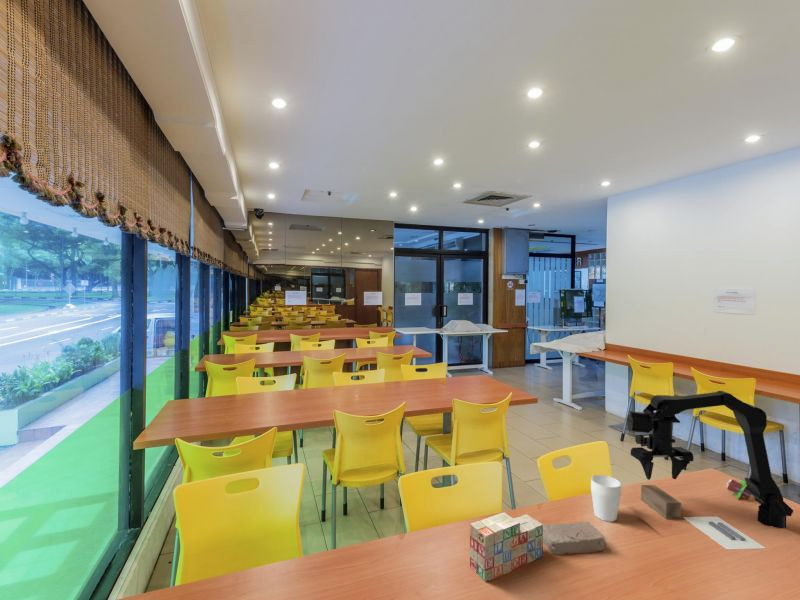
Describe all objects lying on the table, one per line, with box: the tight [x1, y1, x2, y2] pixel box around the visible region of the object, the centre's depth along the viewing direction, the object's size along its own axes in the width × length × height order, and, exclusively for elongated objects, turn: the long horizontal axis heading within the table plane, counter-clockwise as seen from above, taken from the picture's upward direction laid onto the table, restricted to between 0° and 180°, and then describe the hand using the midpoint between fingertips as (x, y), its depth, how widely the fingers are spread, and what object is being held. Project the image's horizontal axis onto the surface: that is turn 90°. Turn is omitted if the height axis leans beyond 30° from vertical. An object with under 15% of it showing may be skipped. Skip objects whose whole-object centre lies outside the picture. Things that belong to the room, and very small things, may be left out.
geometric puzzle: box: [726, 478, 752, 501], centre depth 142 cm, size 7×7×8 cm
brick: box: [542, 521, 606, 555], centre depth 114 cm, size 17×8×5 cm, turn 97°
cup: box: [590, 474, 622, 523], centre depth 129 cm, size 9×9×12 cm
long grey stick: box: [717, 522, 745, 541], centre depth 118 cm, size 1×8×1 cm, turn 3°
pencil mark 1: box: [709, 522, 736, 540], centre depth 118 cm, size 1×8×1 cm, turn 3°
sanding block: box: [640, 484, 682, 520], centre depth 131 cm, size 5×12×7 cm, turn 3°
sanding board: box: [682, 516, 766, 550], centre depth 118 cm, size 12×16×2 cm
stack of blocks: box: [469, 511, 544, 582], centre depth 106 cm, size 21×6×12 cm, turn 118°
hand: (661, 479), depth 130 cm, fingers open, 9 cm apart
